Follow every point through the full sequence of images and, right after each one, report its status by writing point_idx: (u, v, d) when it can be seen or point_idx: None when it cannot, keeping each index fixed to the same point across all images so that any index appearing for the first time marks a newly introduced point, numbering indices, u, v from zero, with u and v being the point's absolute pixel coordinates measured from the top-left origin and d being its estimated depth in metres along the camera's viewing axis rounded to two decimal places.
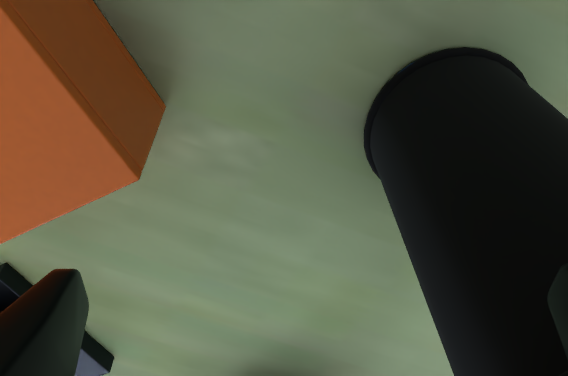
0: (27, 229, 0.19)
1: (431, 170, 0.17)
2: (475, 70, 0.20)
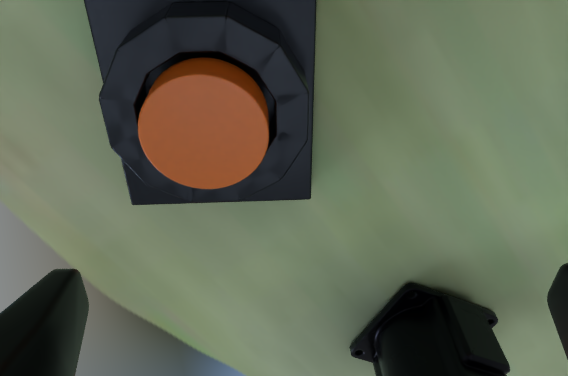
0: None
1: None
2: None
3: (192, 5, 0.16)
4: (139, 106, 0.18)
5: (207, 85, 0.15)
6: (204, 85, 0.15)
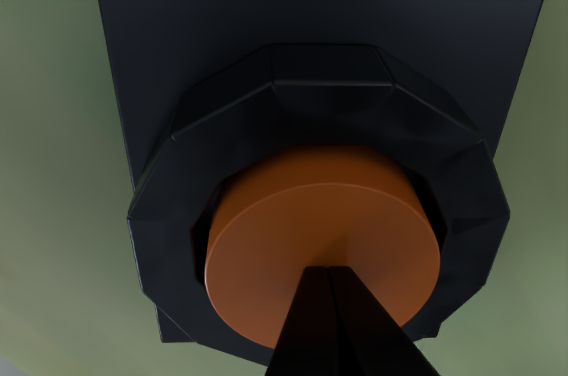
0: None
1: None
2: None
3: (312, 53, 0.09)
4: (196, 224, 0.10)
5: (349, 202, 0.08)
6: (342, 202, 0.08)
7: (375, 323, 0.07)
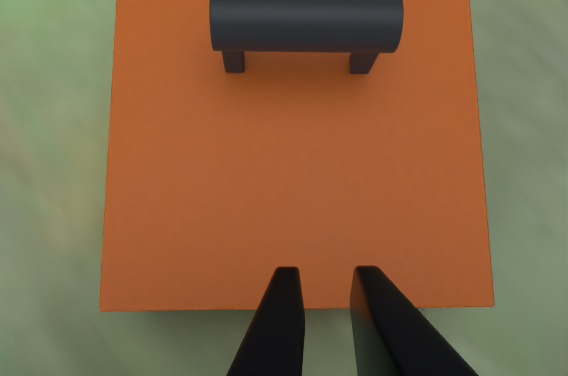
0: (344, 305, 0.16)
1: None
2: None
3: None
4: None
5: None
6: None
7: (408, 323, 0.07)
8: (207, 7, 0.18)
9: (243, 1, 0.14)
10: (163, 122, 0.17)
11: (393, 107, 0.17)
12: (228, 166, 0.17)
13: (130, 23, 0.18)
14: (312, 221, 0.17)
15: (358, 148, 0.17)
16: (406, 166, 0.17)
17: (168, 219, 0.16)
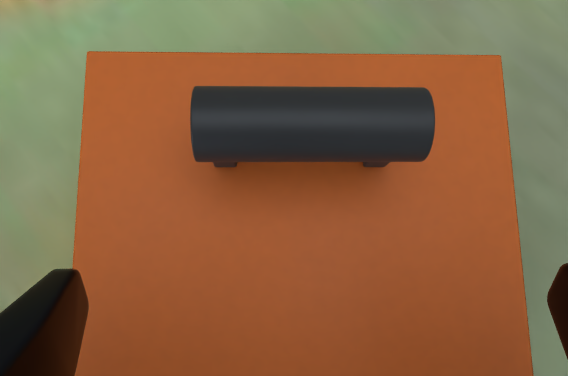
0: None
1: None
2: None
3: None
4: None
5: None
6: None
7: None
8: (193, 87, 0.15)
9: (233, 109, 0.11)
10: (139, 230, 0.14)
11: (415, 207, 0.15)
12: (218, 284, 0.14)
13: (101, 108, 0.15)
14: (319, 352, 0.14)
15: (374, 259, 0.14)
16: (431, 281, 0.14)
17: (145, 352, 0.13)
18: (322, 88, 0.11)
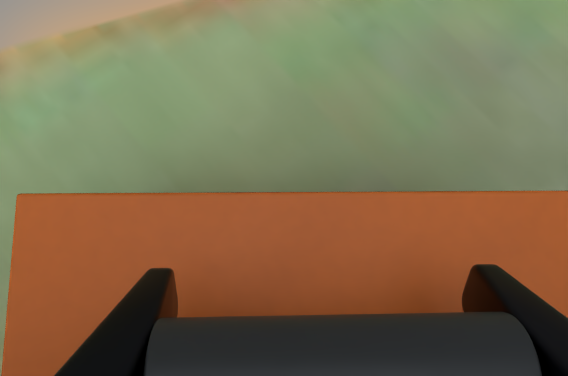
0: None
1: None
2: None
3: None
4: None
5: None
6: None
7: (550, 320, 0.07)
8: (165, 244, 0.11)
9: None
10: None
11: None
12: None
13: (34, 279, 0.10)
14: None
15: None
16: None
17: None
18: (358, 332, 0.07)
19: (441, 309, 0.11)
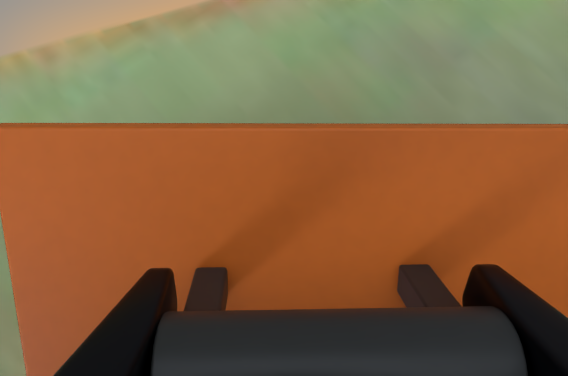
0: None
1: None
2: None
3: None
4: None
5: None
6: None
7: (551, 320, 0.07)
8: (159, 183, 0.10)
9: None
10: None
11: None
12: None
13: (26, 216, 0.10)
14: None
15: None
16: None
17: None
18: (357, 349, 0.07)
19: (441, 247, 0.11)
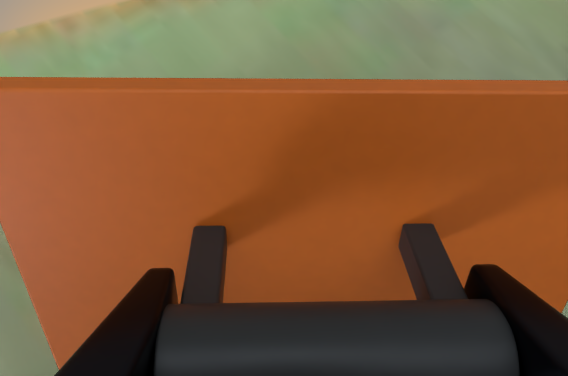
0: None
1: None
2: None
3: None
4: None
5: None
6: None
7: (550, 320, 0.07)
8: (149, 147, 0.09)
9: None
10: (113, 307, 0.12)
11: None
12: None
13: (9, 179, 0.09)
14: None
15: None
16: None
17: None
18: (355, 360, 0.07)
19: (448, 208, 0.10)
